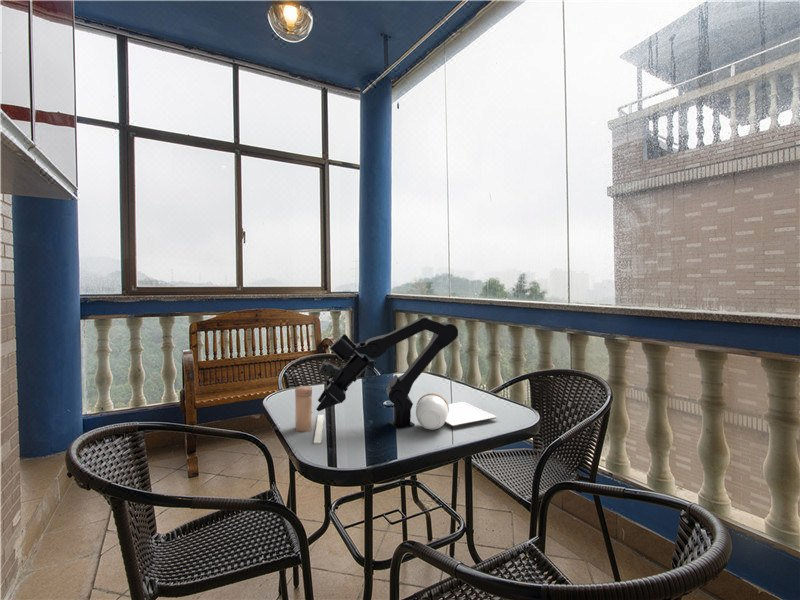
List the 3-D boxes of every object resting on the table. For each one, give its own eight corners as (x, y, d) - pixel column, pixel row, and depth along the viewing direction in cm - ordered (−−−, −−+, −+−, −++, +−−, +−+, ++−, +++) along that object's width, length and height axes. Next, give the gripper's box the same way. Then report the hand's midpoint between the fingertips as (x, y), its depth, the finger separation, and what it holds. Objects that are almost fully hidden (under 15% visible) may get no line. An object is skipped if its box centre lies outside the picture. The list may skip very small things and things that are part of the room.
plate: (452, 431, 126) (452, 424, 126) (422, 413, 143) (422, 408, 142) (497, 422, 135) (497, 416, 135) (463, 406, 151) (464, 401, 151)
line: (320, 443, 115) (320, 441, 115) (313, 443, 114) (313, 442, 114) (323, 415, 138) (323, 414, 138) (318, 416, 138) (318, 414, 138)
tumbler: (313, 430, 125) (313, 389, 124) (297, 432, 122) (297, 391, 122) (309, 424, 129) (309, 385, 129) (293, 427, 127) (293, 387, 127)
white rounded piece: (438, 397, 121) (440, 386, 130) (407, 410, 123) (411, 398, 133) (453, 428, 122) (454, 414, 131) (422, 440, 124) (425, 426, 133)
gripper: (334, 348, 136) (302, 381, 134) (333, 358, 117) (296, 397, 116) (357, 369, 137) (326, 403, 136) (360, 383, 119) (324, 422, 118)
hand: (318, 405), depth 126 cm, fingers open, 9 cm apart
